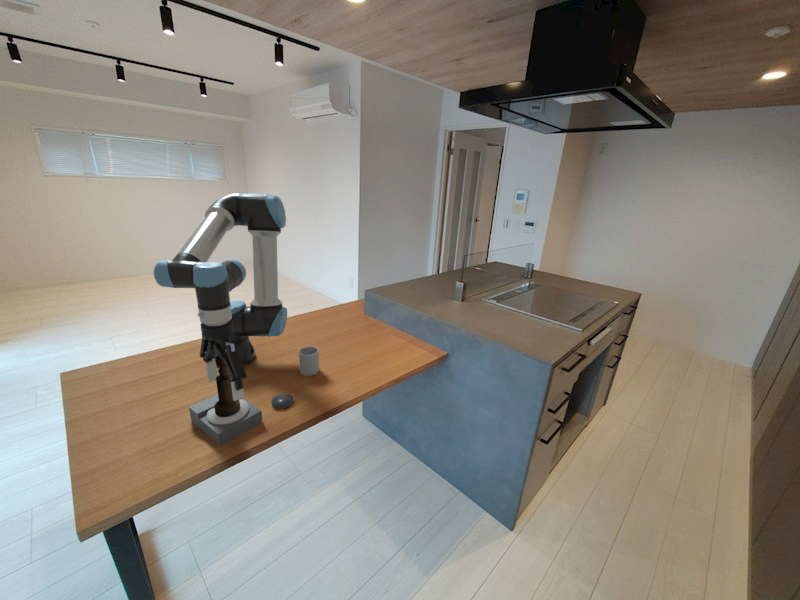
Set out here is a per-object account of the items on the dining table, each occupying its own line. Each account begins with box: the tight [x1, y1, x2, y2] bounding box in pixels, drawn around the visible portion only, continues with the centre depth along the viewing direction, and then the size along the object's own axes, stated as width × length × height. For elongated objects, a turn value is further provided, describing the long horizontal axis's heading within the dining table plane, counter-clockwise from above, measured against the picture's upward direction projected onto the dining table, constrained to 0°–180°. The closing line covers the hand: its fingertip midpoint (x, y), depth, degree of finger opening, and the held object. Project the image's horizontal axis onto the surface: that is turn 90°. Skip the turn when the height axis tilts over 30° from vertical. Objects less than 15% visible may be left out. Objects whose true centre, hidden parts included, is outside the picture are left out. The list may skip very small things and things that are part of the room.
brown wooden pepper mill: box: [214, 355, 240, 417], centre depth 95 cm, size 7×6×18 cm
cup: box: [298, 345, 320, 377], centre depth 129 cm, size 7×10×9 cm
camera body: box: [188, 393, 263, 447], centre depth 100 cm, size 16×13×5 cm
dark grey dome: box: [270, 392, 295, 411], centre depth 110 cm, size 7×7×1 cm
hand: (225, 389), depth 96 cm, fingers open, 13 cm apart
